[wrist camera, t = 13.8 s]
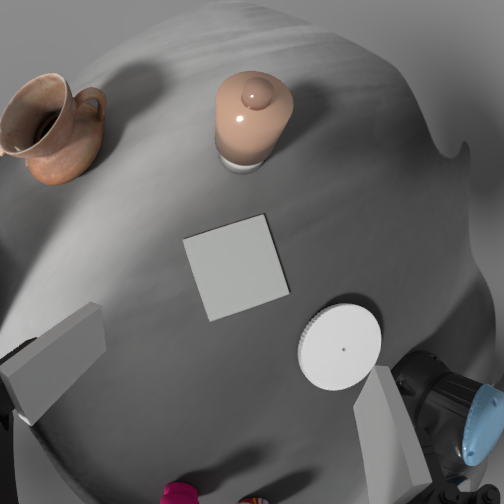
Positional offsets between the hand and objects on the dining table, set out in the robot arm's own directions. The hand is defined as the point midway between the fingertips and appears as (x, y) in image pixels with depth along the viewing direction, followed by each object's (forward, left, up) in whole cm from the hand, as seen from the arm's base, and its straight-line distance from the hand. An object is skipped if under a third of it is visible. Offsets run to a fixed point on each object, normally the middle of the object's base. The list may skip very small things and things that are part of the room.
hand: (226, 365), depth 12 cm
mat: (-4, -3, -28) cm, 28 cm away
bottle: (-10, -19, -23) cm, 31 cm away
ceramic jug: (+16, -30, -28) cm, 44 cm away
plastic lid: (-15, +14, -28) cm, 35 cm away
